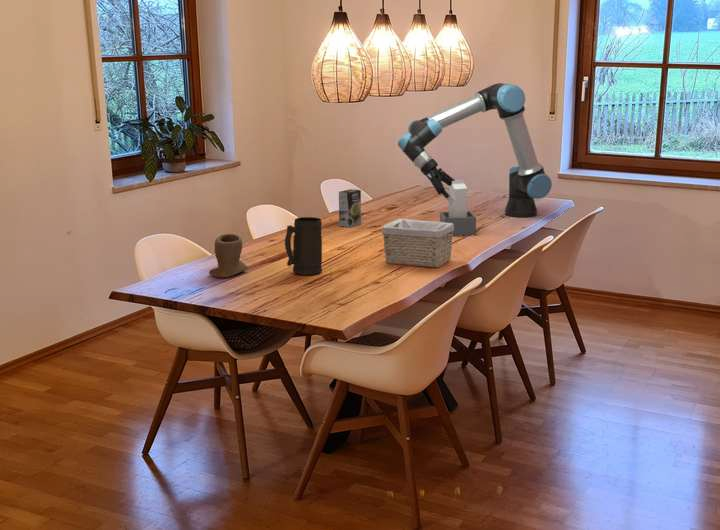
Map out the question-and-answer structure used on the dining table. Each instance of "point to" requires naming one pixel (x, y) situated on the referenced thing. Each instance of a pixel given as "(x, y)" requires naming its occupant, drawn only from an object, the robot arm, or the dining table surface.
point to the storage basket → (418, 242)
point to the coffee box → (349, 208)
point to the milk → (458, 199)
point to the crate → (461, 223)
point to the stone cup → (228, 256)
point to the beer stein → (305, 245)
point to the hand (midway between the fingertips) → (458, 199)
